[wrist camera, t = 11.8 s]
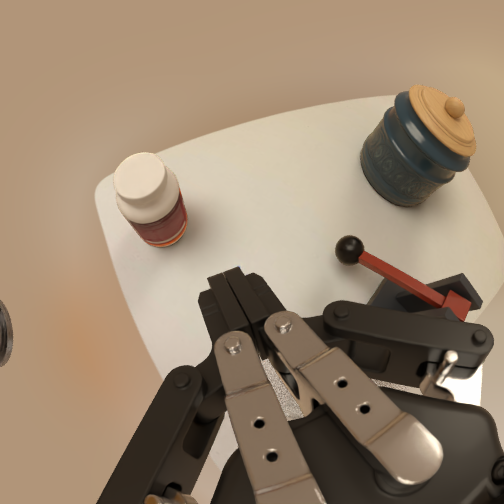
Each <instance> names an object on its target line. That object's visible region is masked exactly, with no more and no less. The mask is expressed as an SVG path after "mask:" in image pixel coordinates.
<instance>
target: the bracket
mask: <svg viewBox="0 0 504 504" xmlns="http://www.w3.org/2000/svg"><path fill="white" fill-rule="evenodd" d="M426 286H428V287H430V288H431V289H433V290H435V291H436V292H438V293H440V294H441V295H443V296H445V297H446V295H447V294H448V292H449V291H450V290H452V291H453V292H455V293H457V294H458V295H460V296H462V297H463V298H465V299H466V300H468V301H470V302H471V306H470V309H469V311H472V310H477V309H480V308H481V305H482V303H483V301H482V299H481V298H480V296H479V295H478V293H477V292H476V290H475V289H474V288H473V286H472V285H471V283H470V282H469V281H468V279H467V278H466V277H465V275H464V274H463V273H461V274H458V275H455V276H452V277H449V278H446V279H442V280H439V281H436V282H433V283H429V284H426ZM367 305H370V306H376V307H381V308H386V309H392V310H397V311H403V312H408V313H414V314H419V315H425V316H431V317H437V318H443V319H449V320H455V321H460V320H459V319H458V318H457V316H456V315H455V314H454V312H453V311H452V310H451V309H450V307H444V308H438V309H437V308H435V307H434V306H432V305H431V304H429V303H427V302H426V301H424V300H422V299H421V298H419V297H417V296H416V295H414V294H412V293H411V292H409V291H407V290H405V289H404V288H402V287H400V286H399V285H397V284H395V283H393V282H392V281H390V280H388V279H387V278H384V279H383V281H382V282H381V284H380V286H379V287H378V289H377V290H376V292H375V293H374V295H373V296H372V297H371V299H370V300H369V302H368V303H367Z"/></svg>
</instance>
